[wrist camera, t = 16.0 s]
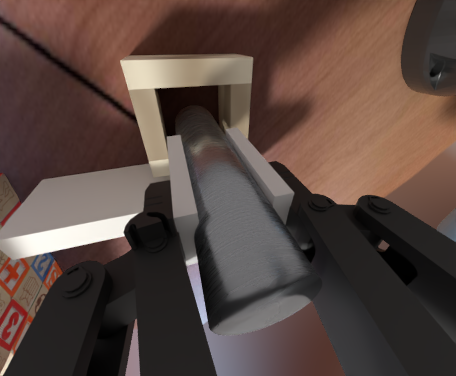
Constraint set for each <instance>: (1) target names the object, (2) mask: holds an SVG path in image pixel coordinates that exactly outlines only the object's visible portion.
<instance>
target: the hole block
mask: <svg viewBox="0 0 456 376" xmlns="http://www.w3.org/2000/svg"><path fill="white" fill-rule="evenodd" d="M120 62H121V65H122V69H123V72H124V76H125V79H126V83H127V86H128V90H129V93H130V97H131V100H132V104H133V107H134V111H135V114H136V118H137V121H138V125H139V128H140V132H141V135H142V139H143V142H144V146H145V149H146V153H147V156H148V160H149V163H150V167H151V170H152V174H153V177H154V178H155V177H161V176H168V175H170V170H169V158H168V146H167V134H166V129H165V124H164V119H163V114H162V109H161V104H160V99H159V94H158V89H157V88H172V87H191V86H210V85H218V107H219V127H220V128H221V130H222V131H223V133H224V134H225V136H226V131H225V129H231V128H238V129H239V130H240V131H241V132H242V133H243V135H244V136H245V137H246V138H247V139H248V130H249V115H250V100H251V84H252V69H253V57H249V56H244V55H239V54H188V55H134V56H127V57H125V58H124V59H122V60H120Z"/></svg>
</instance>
